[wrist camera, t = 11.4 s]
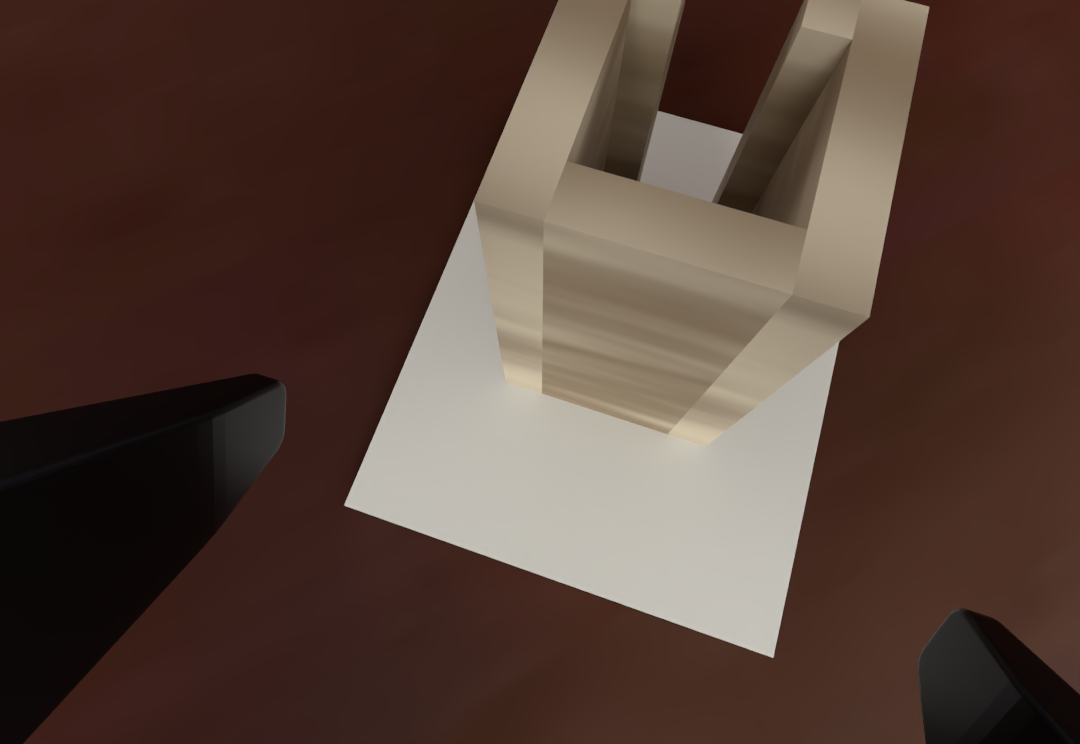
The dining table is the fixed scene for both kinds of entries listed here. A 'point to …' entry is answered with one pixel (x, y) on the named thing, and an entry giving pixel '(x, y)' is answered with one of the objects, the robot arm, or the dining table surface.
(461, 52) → the dining table surface
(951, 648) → the robot arm
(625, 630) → the dining table surface
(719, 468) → the post plate
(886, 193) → the beech collar
